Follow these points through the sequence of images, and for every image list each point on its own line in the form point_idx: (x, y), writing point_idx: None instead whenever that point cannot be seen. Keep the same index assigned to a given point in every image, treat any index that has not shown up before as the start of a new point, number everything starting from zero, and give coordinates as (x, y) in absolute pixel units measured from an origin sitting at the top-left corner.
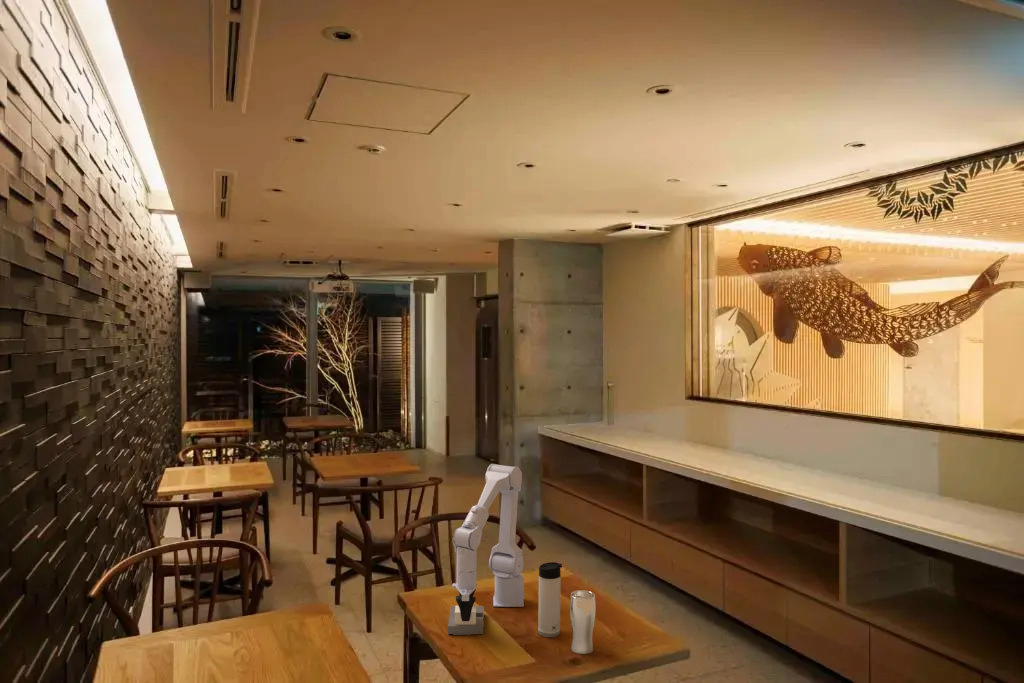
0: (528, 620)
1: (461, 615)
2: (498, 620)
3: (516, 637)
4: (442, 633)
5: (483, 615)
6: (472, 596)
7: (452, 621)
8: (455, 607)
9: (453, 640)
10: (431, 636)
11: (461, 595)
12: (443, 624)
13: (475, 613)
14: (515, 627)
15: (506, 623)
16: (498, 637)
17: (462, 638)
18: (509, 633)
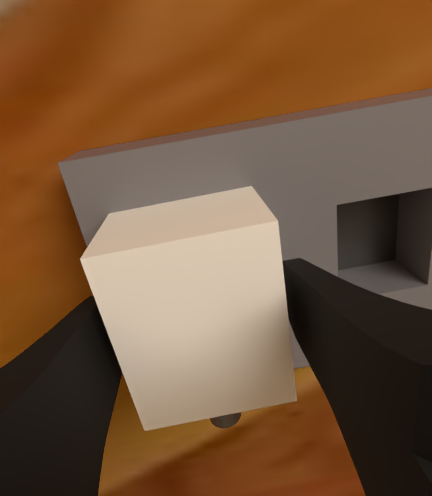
0: (338, 487)
1: (58, 326)
2: None
3: (155, 482)
4: (95, 99)
5: (304, 366)
6: (348, 448)
7: (167, 179)
8: (224, 233)
9: (10, 210)
10: (10, 10)
11: (355, 349)
12: (259, 67)
13: (144, 418)
14: (260, 461)
15: (302, 423)
16: (134, 423)
17: (62, 260)
18: (191, 453)
